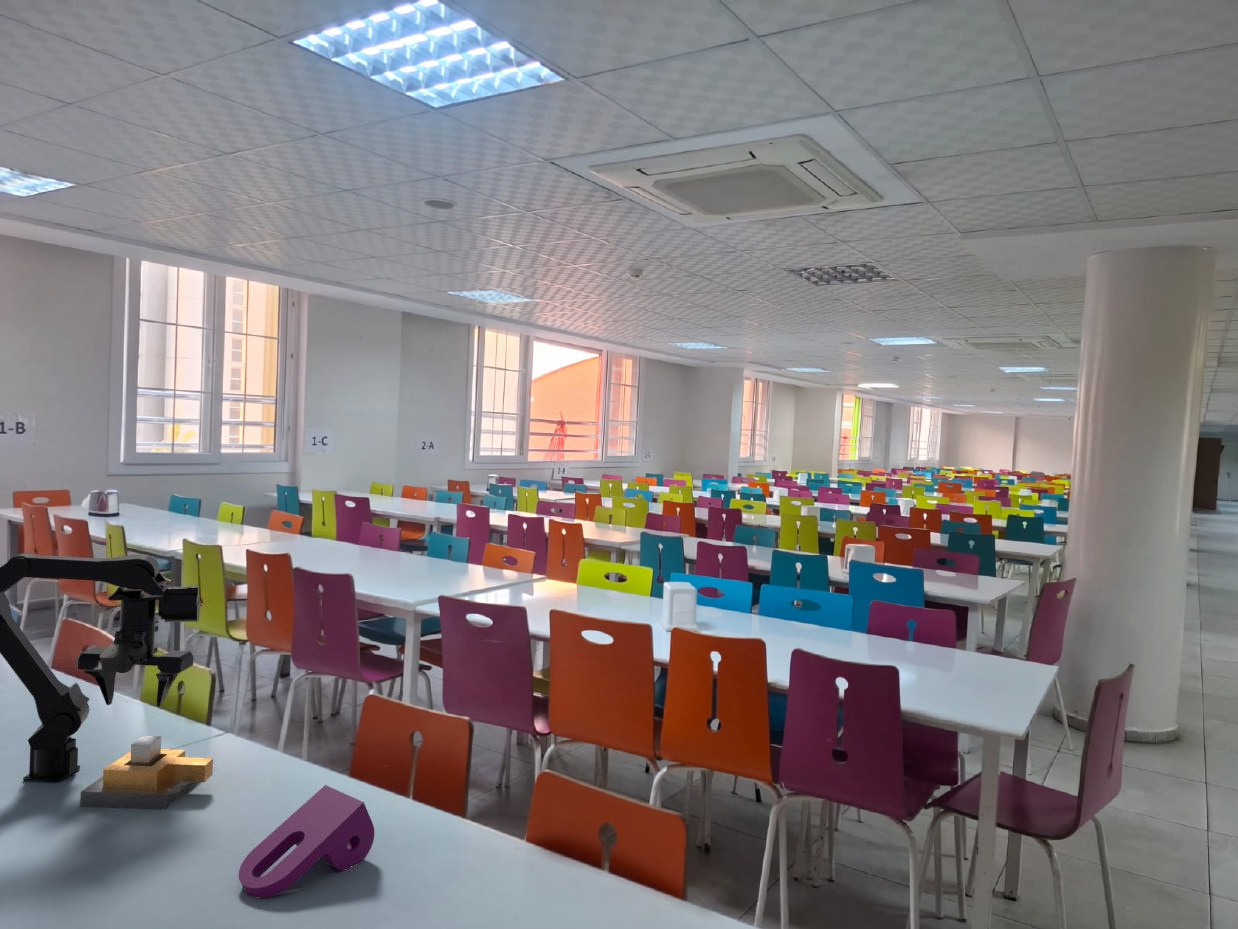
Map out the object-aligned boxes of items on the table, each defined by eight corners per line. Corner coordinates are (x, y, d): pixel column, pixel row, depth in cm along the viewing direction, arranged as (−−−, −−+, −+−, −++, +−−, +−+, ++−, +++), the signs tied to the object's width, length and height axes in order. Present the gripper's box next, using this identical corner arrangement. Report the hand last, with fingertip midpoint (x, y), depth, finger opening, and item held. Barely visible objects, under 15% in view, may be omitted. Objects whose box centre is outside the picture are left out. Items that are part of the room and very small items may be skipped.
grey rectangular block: (129, 795, 144) (131, 744, 144) (140, 785, 148) (142, 736, 148) (148, 795, 144) (150, 744, 144) (159, 786, 148) (161, 736, 148)
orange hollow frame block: (80, 806, 139) (81, 774, 139) (125, 773, 153) (126, 743, 153) (189, 810, 140) (190, 777, 140) (224, 776, 154) (226, 747, 154)
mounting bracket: (285, 940, 116) (380, 842, 129) (263, 897, 112) (364, 802, 126) (246, 915, 121) (342, 824, 134) (225, 874, 118) (325, 784, 131)
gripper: (59, 630, 146) (55, 718, 146) (167, 635, 147) (163, 722, 147) (96, 617, 157) (92, 698, 157) (196, 621, 158) (192, 702, 158)
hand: (134, 705), depth 155 cm, fingers open, 9 cm apart
